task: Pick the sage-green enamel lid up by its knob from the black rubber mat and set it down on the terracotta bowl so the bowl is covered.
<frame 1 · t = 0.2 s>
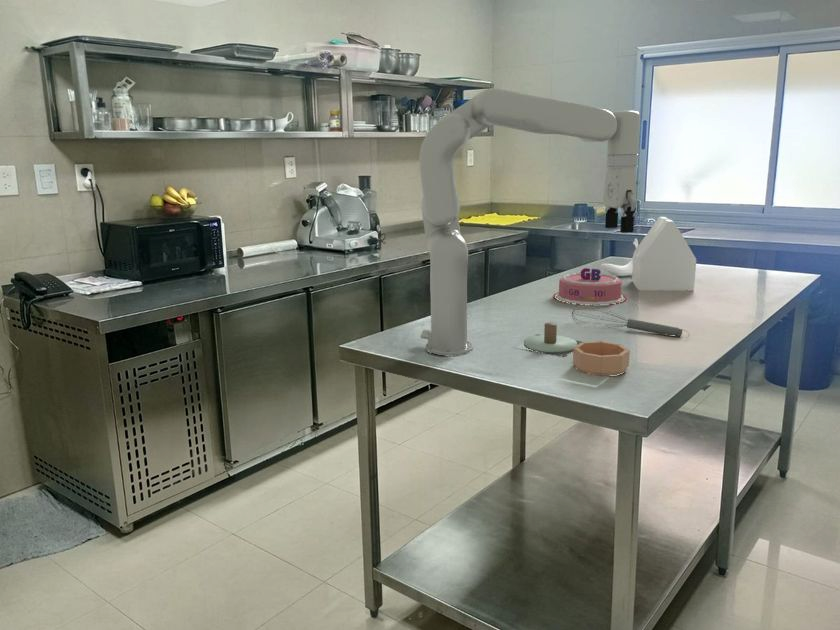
hand: (618, 230, 172), 31 cm above the table, tool pointing down, fingers open, 9 cm apart
lid: (550, 345, 178), resting on mat
kitchen whisk: (626, 330, 193), on the table
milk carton: (661, 286, 249), on the table
white curved piece: (622, 276, 269), on the table
cake: (589, 299, 233), on the table
bowl: (600, 368, 160), on the table
mat: (550, 346, 178), on the table
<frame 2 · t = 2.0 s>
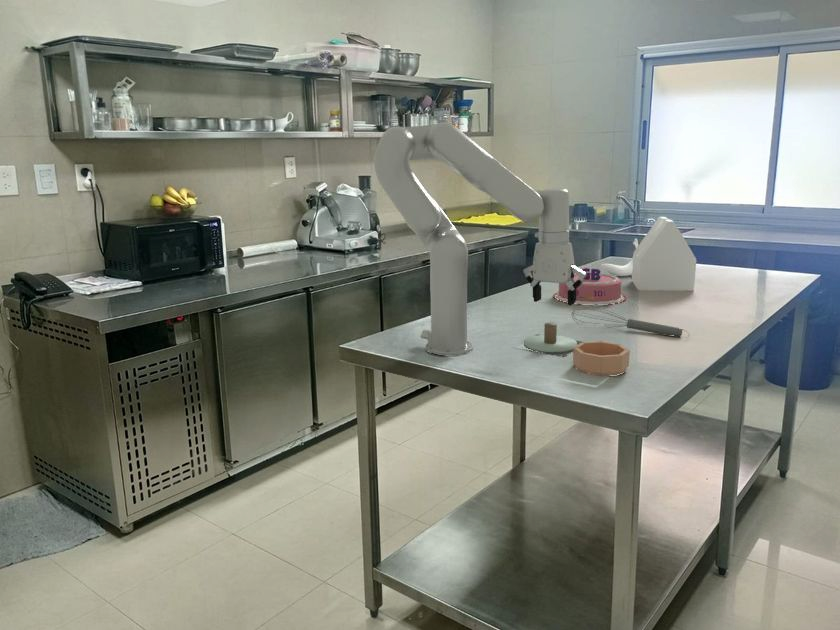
hand: (554, 302, 175), 12 cm above the table, tool pointing down, fingers open, 9 cm apart
nothing on the table moved.
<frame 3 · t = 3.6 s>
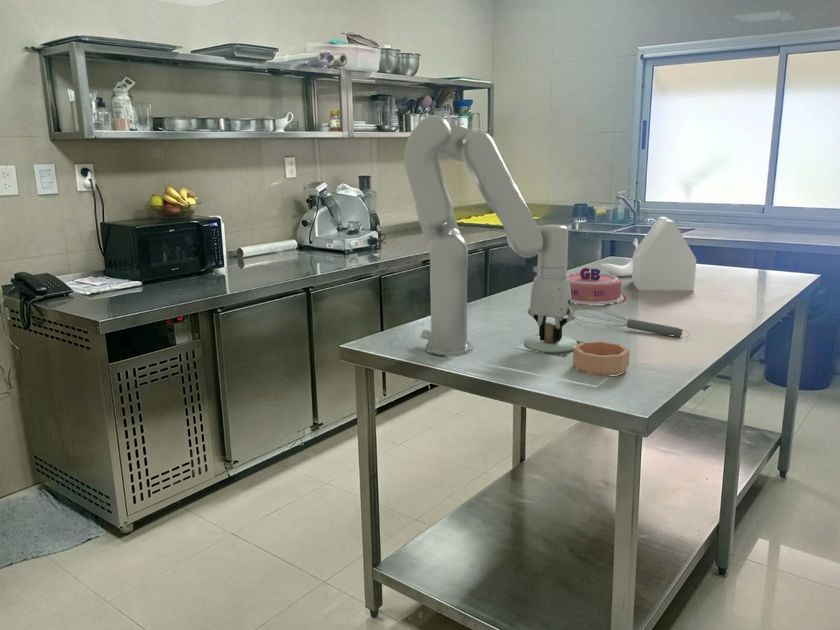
hand: (550, 339, 178), 2 cm above the table, tool pointing down, fingers closed on lid, 3 cm apart
lid: (550, 344, 178), resting on mat, touching gripper
everything else where it was.
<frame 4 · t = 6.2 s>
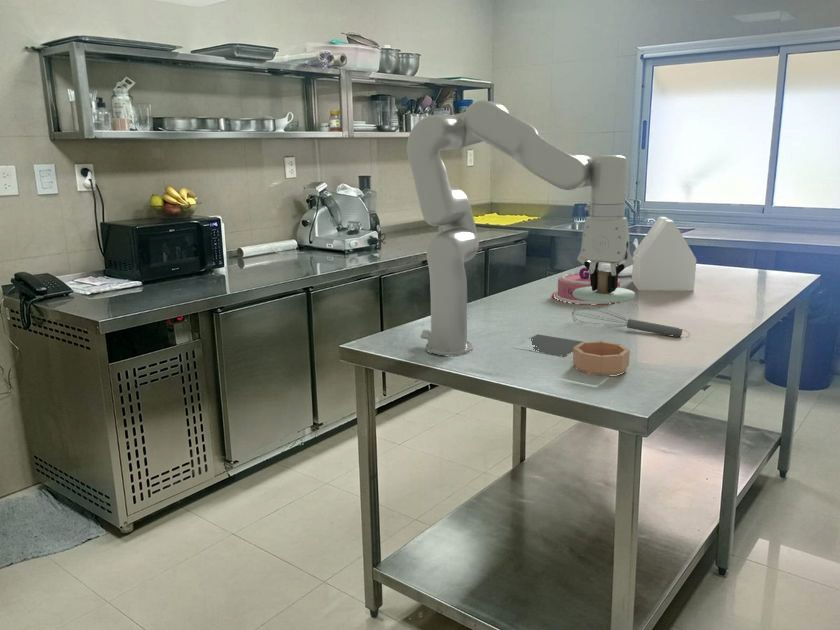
hand: (603, 289, 155), 19 cm above the table, tool pointing down, fingers closed on lid, 3 cm apart
lid: (603, 295, 156), point 18 cm above the table, touching gripper
everything else where it was.
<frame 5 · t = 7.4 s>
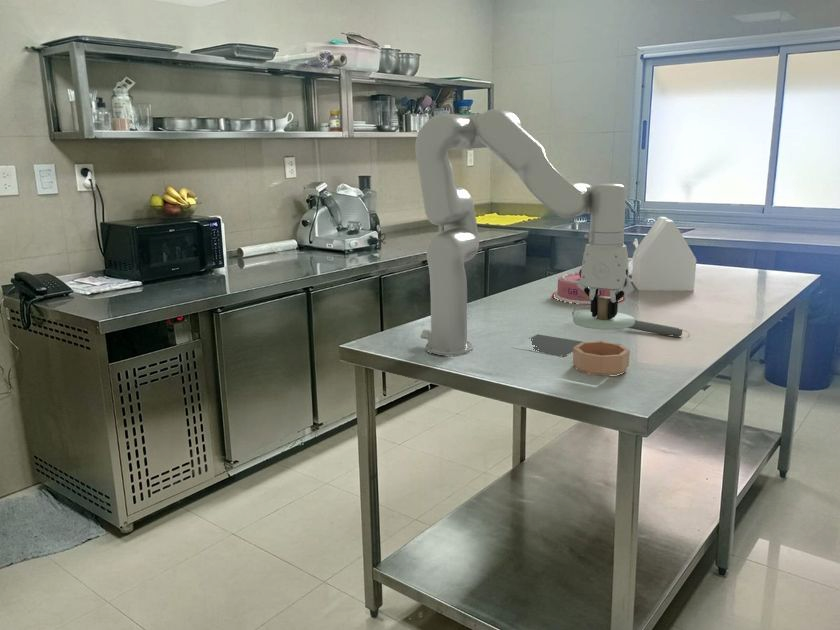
hand: (603, 316, 157), 13 cm above the table, tool pointing down, fingers closed on lid, 3 cm apart
lid: (603, 321, 157), point 12 cm above the table, touching gripper
when the fingers open (7 cm above the table, at t = 8.7 s): lid stays where it is, resting on bowl.
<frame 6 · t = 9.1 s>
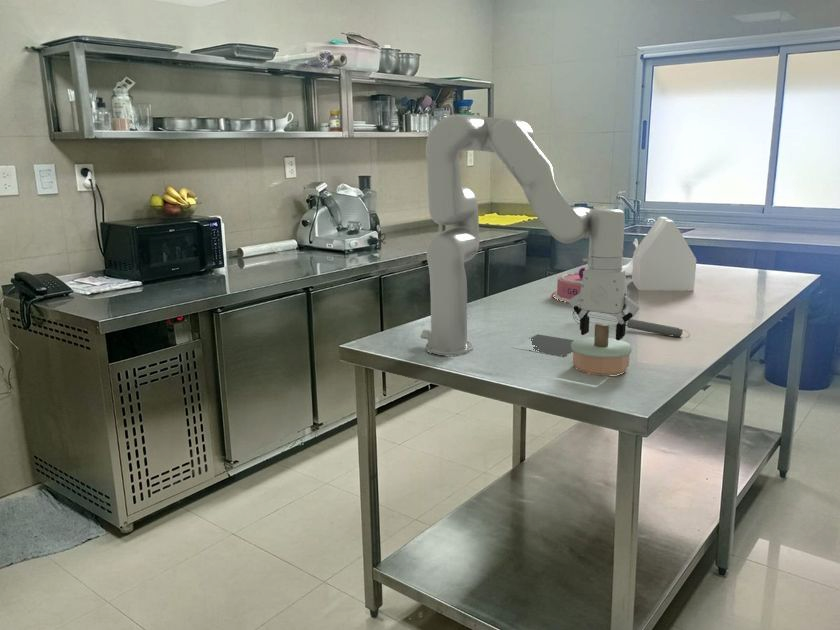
hand: (601, 335, 158), 8 cm above the table, tool pointing down, fingers open, 8 cm apart
lid: (600, 348, 159), point 5 cm above the table, touching bowl
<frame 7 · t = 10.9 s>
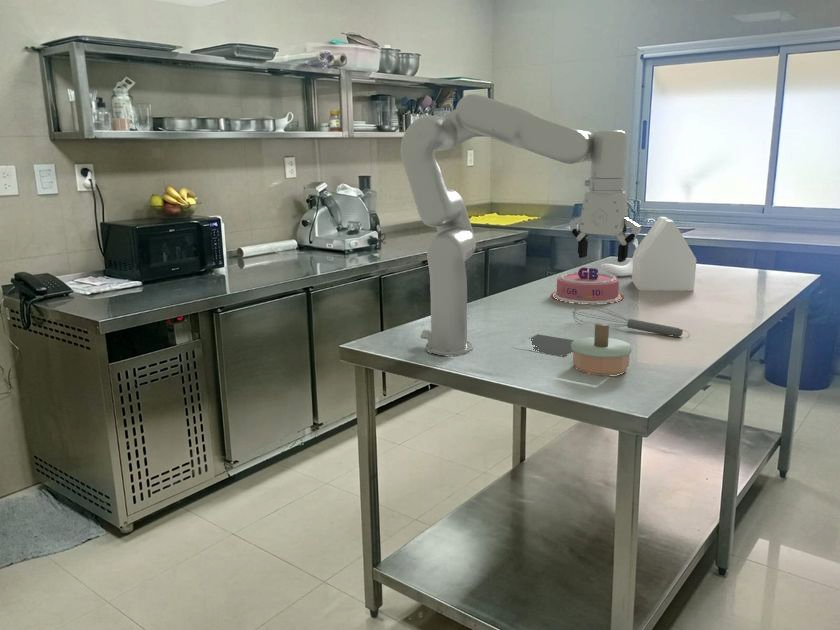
hand: (601, 259, 158), 26 cm above the table, tool pointing down, fingers open, 9 cm apart
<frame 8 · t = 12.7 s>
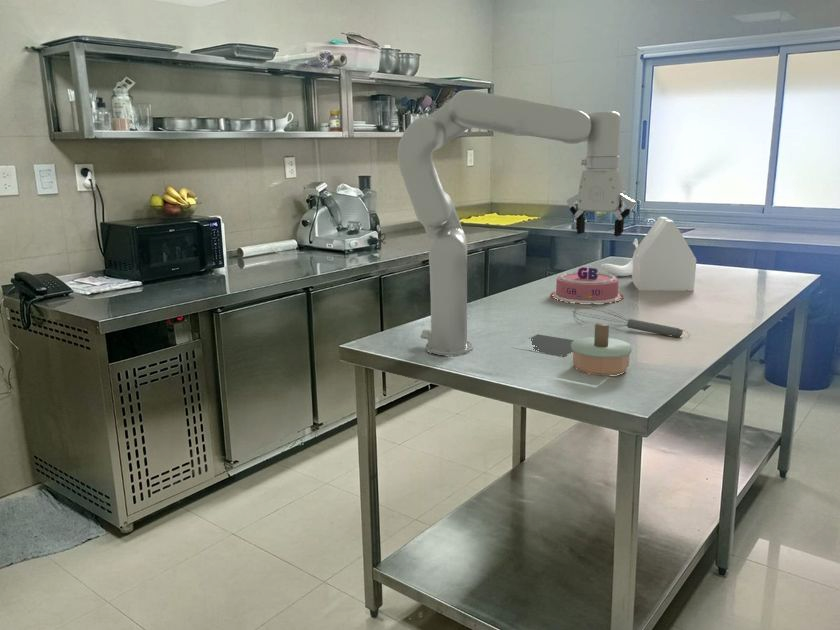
hand: (599, 234, 167), 30 cm above the table, tool pointing down, fingers open, 9 cm apart
at the end: lid 0.1 cm off-centre on the bowl, point 5.0 cm above the bowl's base; lid tilted 0°; the gripper is holding nothing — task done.
